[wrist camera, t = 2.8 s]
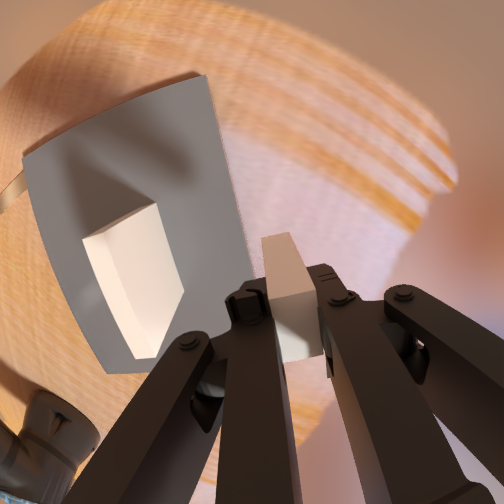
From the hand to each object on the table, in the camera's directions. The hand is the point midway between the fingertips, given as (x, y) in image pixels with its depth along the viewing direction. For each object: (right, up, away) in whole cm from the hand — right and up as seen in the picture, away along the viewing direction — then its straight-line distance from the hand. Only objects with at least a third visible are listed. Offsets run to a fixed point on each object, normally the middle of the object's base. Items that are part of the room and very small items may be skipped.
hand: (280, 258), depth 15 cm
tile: (-9, +1, +8) cm, 12 cm away
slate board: (-12, 0, +9) cm, 15 cm away
